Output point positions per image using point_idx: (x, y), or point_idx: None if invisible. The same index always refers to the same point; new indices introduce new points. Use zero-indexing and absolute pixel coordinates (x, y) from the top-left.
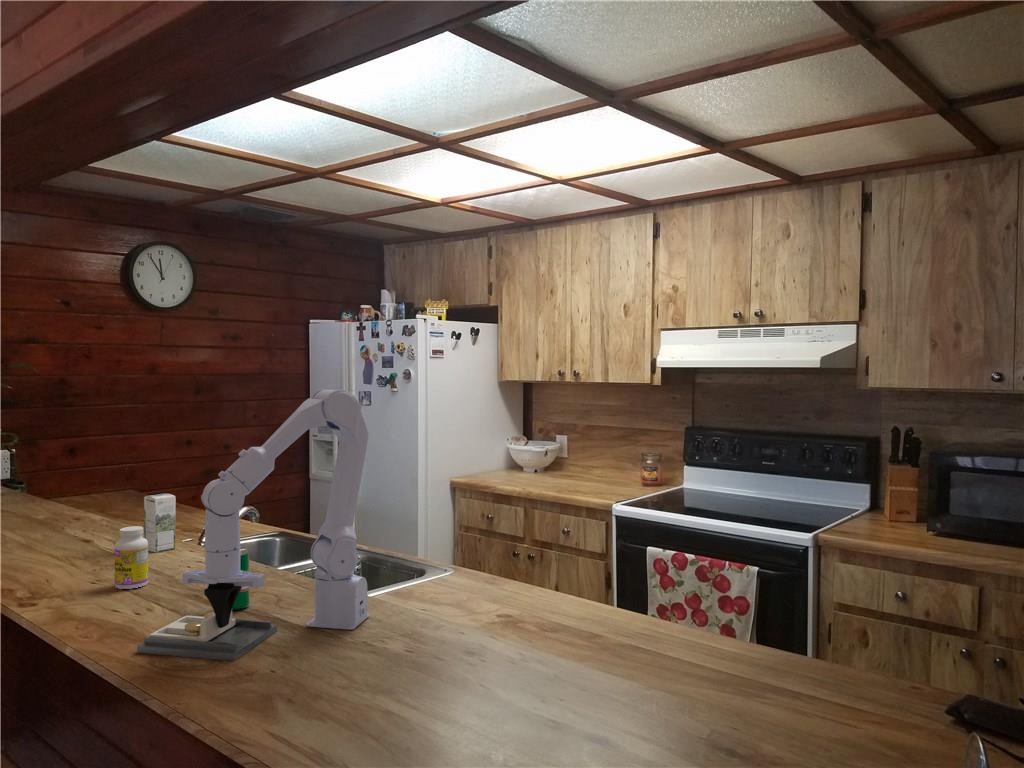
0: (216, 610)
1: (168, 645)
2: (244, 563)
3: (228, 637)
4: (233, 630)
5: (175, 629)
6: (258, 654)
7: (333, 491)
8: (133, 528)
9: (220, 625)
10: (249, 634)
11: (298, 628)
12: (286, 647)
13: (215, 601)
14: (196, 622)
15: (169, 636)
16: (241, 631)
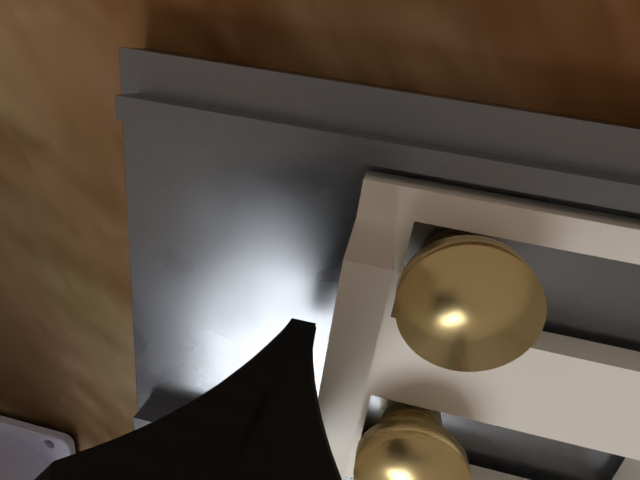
0: (288, 390)
1: (607, 172)
2: None
3: (278, 297)
4: None
5: (630, 365)
6: (81, 151)
7: None
8: None
9: (295, 324)
10: (193, 328)
11: (95, 426)
12: (17, 236)
13: (259, 449)
14: (472, 356)
15: (635, 229)
16: None
